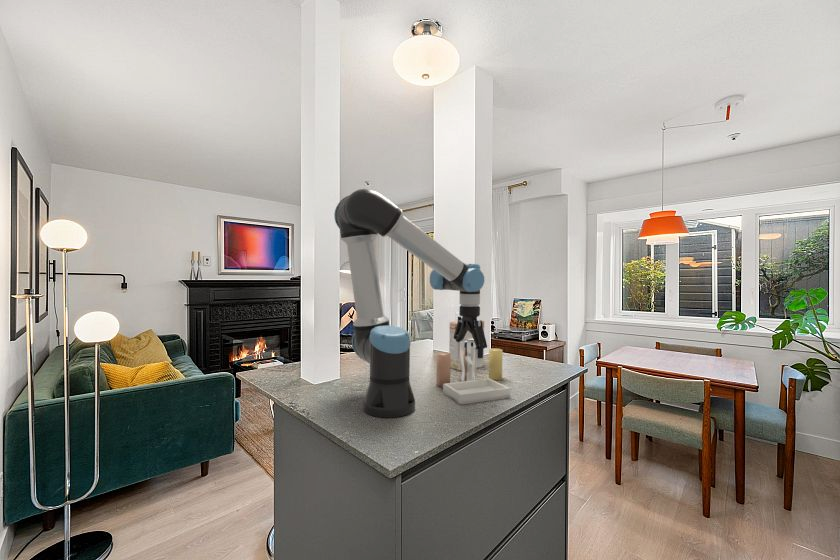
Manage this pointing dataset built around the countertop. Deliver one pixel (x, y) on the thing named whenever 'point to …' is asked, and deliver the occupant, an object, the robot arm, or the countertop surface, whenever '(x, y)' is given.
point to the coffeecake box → (453, 346)
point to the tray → (476, 391)
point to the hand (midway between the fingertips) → (469, 362)
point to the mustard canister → (495, 363)
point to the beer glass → (468, 359)
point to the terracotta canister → (443, 369)
